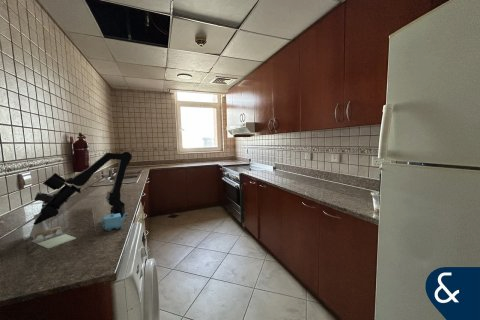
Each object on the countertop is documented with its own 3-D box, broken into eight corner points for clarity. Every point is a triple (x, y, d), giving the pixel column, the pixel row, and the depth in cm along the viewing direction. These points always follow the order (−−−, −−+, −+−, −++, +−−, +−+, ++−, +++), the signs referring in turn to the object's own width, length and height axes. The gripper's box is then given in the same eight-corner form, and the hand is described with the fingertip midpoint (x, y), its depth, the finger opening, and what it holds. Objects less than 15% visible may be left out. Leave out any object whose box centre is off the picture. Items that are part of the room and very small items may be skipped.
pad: (65, 234, 97) (65, 234, 97) (76, 238, 93) (76, 237, 93) (37, 244, 89) (37, 243, 88) (48, 248, 84) (48, 247, 84)
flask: (37, 238, 94) (35, 217, 93) (25, 237, 96) (23, 216, 95) (54, 232, 101) (52, 212, 100) (43, 231, 103) (41, 211, 102)
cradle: (59, 232, 100) (59, 226, 100) (63, 234, 98) (63, 228, 98) (32, 241, 91) (31, 235, 91) (35, 243, 89) (35, 236, 89)
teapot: (127, 223, 110) (127, 209, 110) (129, 226, 106) (128, 212, 105) (101, 229, 104) (100, 214, 103) (101, 233, 99) (100, 218, 98)
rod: (59, 229, 99) (59, 226, 99) (60, 229, 98) (60, 226, 98) (34, 236, 91) (33, 233, 91) (35, 237, 90) (35, 234, 90)
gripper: (47, 183, 106) (18, 209, 100) (46, 188, 92) (12, 218, 86) (68, 195, 112) (42, 220, 105) (70, 202, 98) (40, 231, 92)
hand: (35, 222), depth 97 cm, fingers open, 7 cm apart
